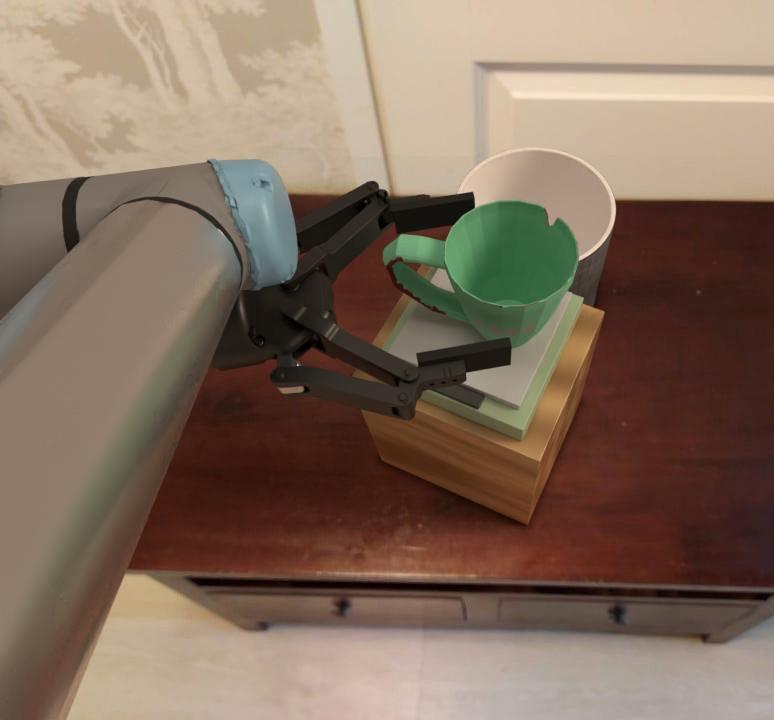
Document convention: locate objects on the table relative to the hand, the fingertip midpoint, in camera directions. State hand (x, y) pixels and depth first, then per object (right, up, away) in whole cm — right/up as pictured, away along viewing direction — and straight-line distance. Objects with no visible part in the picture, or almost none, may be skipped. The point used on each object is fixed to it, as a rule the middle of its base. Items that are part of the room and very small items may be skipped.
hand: (491, 274), depth 49 cm
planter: (+5, +3, +37) cm, 37 cm away
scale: (-1, -5, +9) cm, 11 cm away
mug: (-1, -3, +7) cm, 8 cm away
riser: (-1, -15, +27) cm, 31 cm away
